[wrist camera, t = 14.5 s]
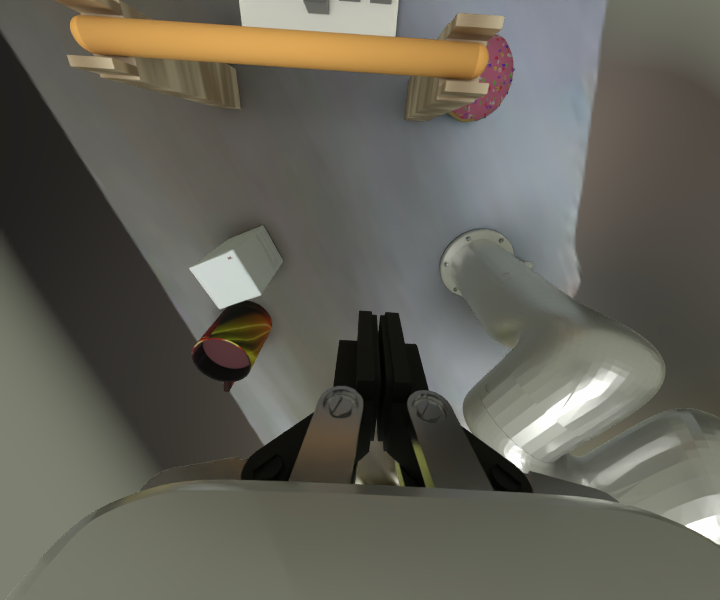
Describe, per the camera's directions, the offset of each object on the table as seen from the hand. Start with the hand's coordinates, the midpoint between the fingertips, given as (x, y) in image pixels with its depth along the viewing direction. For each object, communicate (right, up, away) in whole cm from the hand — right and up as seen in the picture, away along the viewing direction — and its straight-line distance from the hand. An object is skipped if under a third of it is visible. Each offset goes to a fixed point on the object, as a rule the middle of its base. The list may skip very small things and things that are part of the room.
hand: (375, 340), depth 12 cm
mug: (-23, -4, +46) cm, 51 cm away
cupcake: (+13, +31, +25) cm, 42 cm away
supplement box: (-19, +11, +37) cm, 43 cm away
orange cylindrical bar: (-6, +19, +8) cm, 22 cm away
